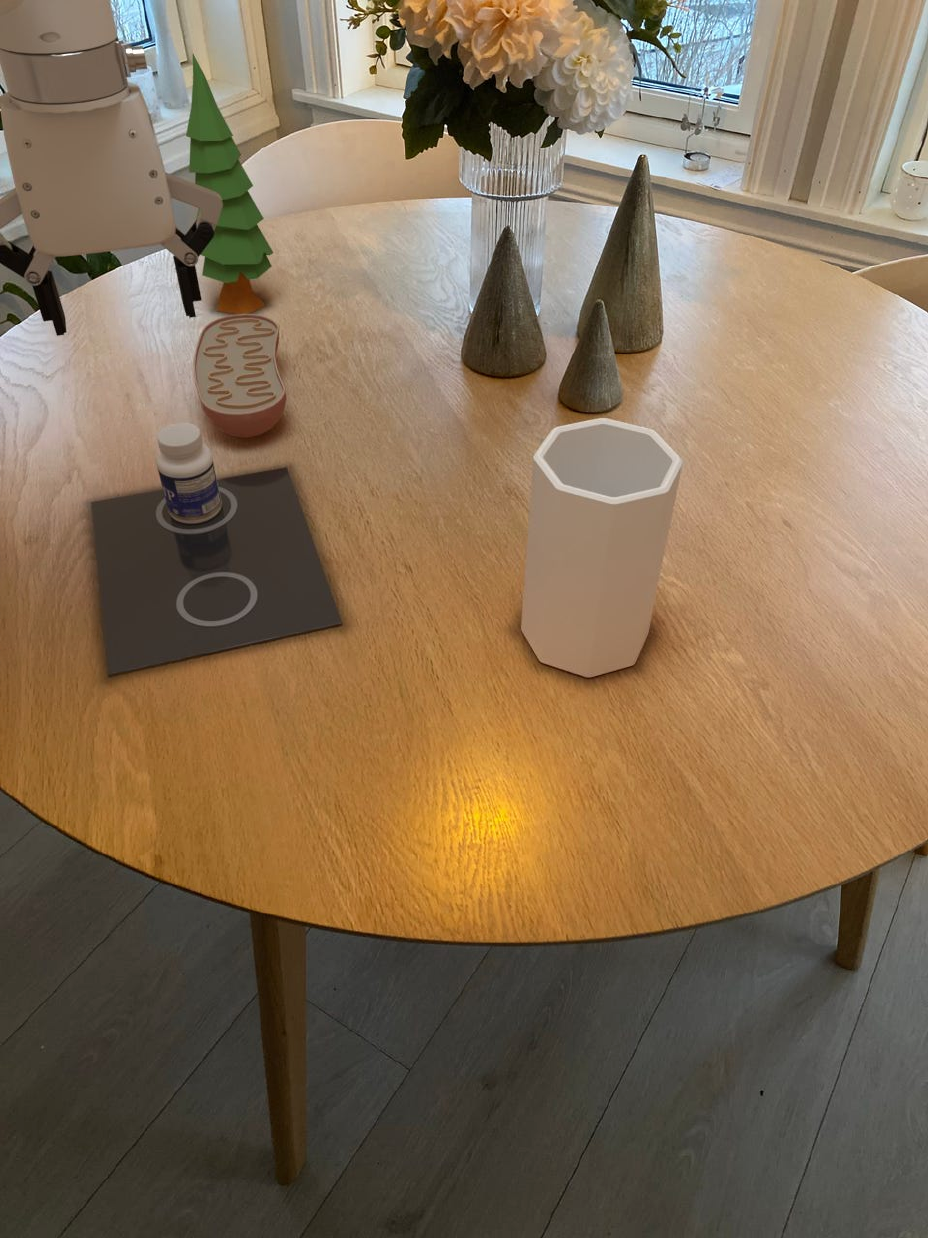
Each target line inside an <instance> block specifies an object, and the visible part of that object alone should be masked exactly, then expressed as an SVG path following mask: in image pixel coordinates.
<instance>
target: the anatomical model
mask: <svg viewBox="0 0 928 1238" xmlns="http://www.w3.org/2000/svg"><path fill="white" fill-rule="evenodd" d="M279 343H280V327H279V325H278V323H277V322H276V321H274V320H273V319H272V318H270V317H267V316H265V315H260V314H255V313H249V314H230V315H226V316H222V317H219V318H216V319H214V320H212V321H211V322H209V323H207V324H206V325H205V326H204V327H203V328H202V330H201V332H200V334H199V337H198V341H197V344H196V346H195V351H194V354H193V355H194V356H193V363H192V364H193V378H194V384H195V387H196V391H197V395H198V399H199V401H200V404H201V407H202V410H203V411H204V413H205V415H206V416H207V418H208V420H210V422H211V423H212V424H213V425H214V426H215V427H216V428H217V429H219V430H220V431H221V432H223V433H225V434H227V435H229V436H233V437H237V438H252V437H257V436H261V435H263V434H264V433H265V434H266V433H267V432H268V431H270V430H271V429H272V428H273V427H274V426H275V425H277V423H278V422H279V420H280V419H281V416H282V415H283V412H284V410H285V406H286V400H287V391H286V387H285V384H284V382H283V380H282V377H281V374H280V372H279V369H278V365H277V353H278V348H279Z"/></svg>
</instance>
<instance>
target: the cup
mask: <svg viewBox="0 0 928 1238" xmlns="http://www.w3.org/2000/svg"><path fill="white" fill-rule="evenodd" d="M532 457H533V458H532V469H531V484H530V498H529V512H528V513H529V514H528V525H527V539H526V552H525V554H526V555H525V567H524V568H525V569H524V578H523V579H524V580H523V582H524V583H523V594H522V596H523V597H522V606H521V607H522V608H521V623H520V631H521V633H522V634H523V636H524V637H525V640H526V641H527V643H528V644H529V646H530V648H531V650H532V651H533V653H534V654H535V656H536V657H537V659H538V661H539V662H540V663H542V664H545V665H548V666H551V667H554V668H556V669H559V670H563V671H565V672H569V673H571V674H575V675H579V676H582V677H584V678H593V677H596V676H600V675H604V674H608V673H611V672H614V671H617V670H618V671H619V670H622V669H626V668H628V667H632V666H634V665H635V664H636V662H637V661H638V658H639V656H640V653H641V651H642V649H643V647H644V644H645V642H646V640H647V637H648V635H649V632H650V628H651V622H652V617H653V613H654V607H655V602H656V598H657V593H658V587H659V582H660V578H661V574H662V569H663V563H664V558H665V552H666V548H667V543H668V538H669V534H670V533H669V532H670V529H671V523H672V519H673V515H674V514H673V513H674V510H675V503H676V499H677V494H678V489H679V484H680V478H681V474H682V468H683V464H684V462H683V461H684V460H683V459H682V458H681V457H680V456H679V455H678V453H676V452H675V450H674V449H673V448H672V447H671V446H670V445H669V443H667V442H666V441H665V440H664V439H663V438H662V436H661V435H660V434H659V433H658V432H657V431H655V430H654V429H652V428H649V427H644V426H640V425H637V424H631V423H628V422H623V421H619V420H615V419H611V418H607V417H599V418H593V419H589V420H584V421H579V422H574V423H569V424H564V425H560V426H556V427H554V428H552V429H551V430H550V431H549V433H548V434H547V436H546V437H545V439H544V440H543V441H542V442H541V444H540V446H539V447H538V449H537V450H536V451H535V453H534V454H533V456H532Z"/></svg>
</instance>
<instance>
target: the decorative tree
mask: <svg viewBox="0 0 928 1238" xmlns="http://www.w3.org/2000/svg"><path fill="white" fill-rule="evenodd" d="M203 71H204V70H202V67H201V65H200V64H199V62H198V60H197V58H196V57H195V54H194V53H192V89H191V105H190V106H191V107H190V112H189V118H188V122H187V127H186V134H185V137H186V138H190V139H189V142H190V143H189V165H188V167H189V168H188V172H189V173H191V174H194V173H195V176H194V177H195V178H194V184H197V185H199V186H202V187H204V188H207V189H210V190H212V191H215V192H217V193H218V194H219V195H220V197H221V199H222V202H223V208H222V211H221V214H220V217H219V220H218V223H217V225H216V227H215V230H214V237H213V238H212V240H211V241H210V242H209V244H208V245H207V246H206V248H205V249H204V250H203V252H202V253H201V254H200V256H202V257H204V260H203V266H202V273H201V274H202V275H201V276H202V277H203V276H204V277H206V278H208V279H211V280H214V281H219V282H220V283H222V286H221V290H220V293H219V298H218V302H217V303H218V304H217V309H216V312H221V313H226V314H227V313H228V314H232V315H237V314H253V313H254V312H255V311H258V310H259V309H262V308H263V307H266V304H265V303H264V302H263V301H262V299H261V298H260V297H259V296H258V295H257V293H256V292H255V291H254V289H253V286H252V284H251V281H252V280H258V279H259V278H260V277H261V276H262V275H264V274H265V273H266V272H267V271H268V270H269V269H271V268H272V263H271V262H270V259H269V257H270V256H271V255H273V254H274V251H273V249H272V247H271V246H270V244H269V242H268V241H267V239H266V238H265V235H264V233H263V231H261V229H260V227H259V225H258V224H259V223H260V222H262V221H263V220H264V216H263V214H262V213H261V211H260V209H259V207H258V206H257V204H256V202H255V201H254V199H253V197H252V195H251V193H250V191H249V190H250V189H252V188H253V187H254V184H253V183H252V181H251V179H250V177H249V176H248V174H247V172H246V170H245V168H244V167H243V165H242V163H241V161H240V157H241V156H242V153H241V151H240V150H239V148H238V145H237V144H236V142H235V141H234V138H233V137H234V135H233V133H232V131H231V128H230V126H229V125H228V123H227V121H226V120H225V117H224V116H223V114H222V111H221V110H220V108H219V106H218V104H217V102H216V100H215V96H214V94H213V92H212V90H211V87H210V85H209V82H208V79H207V77H206V75H205V73H204V72H203ZM199 211H200V209H199V208H198V210H197V215H196V219H195V221H196V220H197V219H198V215H199ZM268 256H269V257H268Z"/></svg>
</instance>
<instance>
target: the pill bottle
mask: <svg viewBox="0 0 928 1238" xmlns="http://www.w3.org/2000/svg"><path fill="white" fill-rule="evenodd" d="M156 438H157V444H158V449H159V452H158V454H157V457H156V461H155V463H156V467H157V471H158V475H159V478H160V483H161V487H162V489H163V491H164V495H165V499H166V503H167V507H168V511H169V514H170V515H171V517H172V518H173V519H175V520H176V521H179V522H181V523H187V524H196V523H201V522H205V521H208V520H210V519H211V518H213V517H214V516H216V515H217V514H218V513H219V511H220V509H221V506H222V501H221V496H220V492H219V488H218V483H217V479H218V478H217V472H216V468H215V464H214V458H213V454H212V452H211V449H210V448H209V447H208V446H207V445H206V444H204V443H203V438H202V433H201V430H200V428H199V427H198V426H197V425H195V424H192V423H189V422H176V423H171V424H168V425H165V426H163V428H161V429H160V430H159V431H158V433H157V436H156Z"/></svg>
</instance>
